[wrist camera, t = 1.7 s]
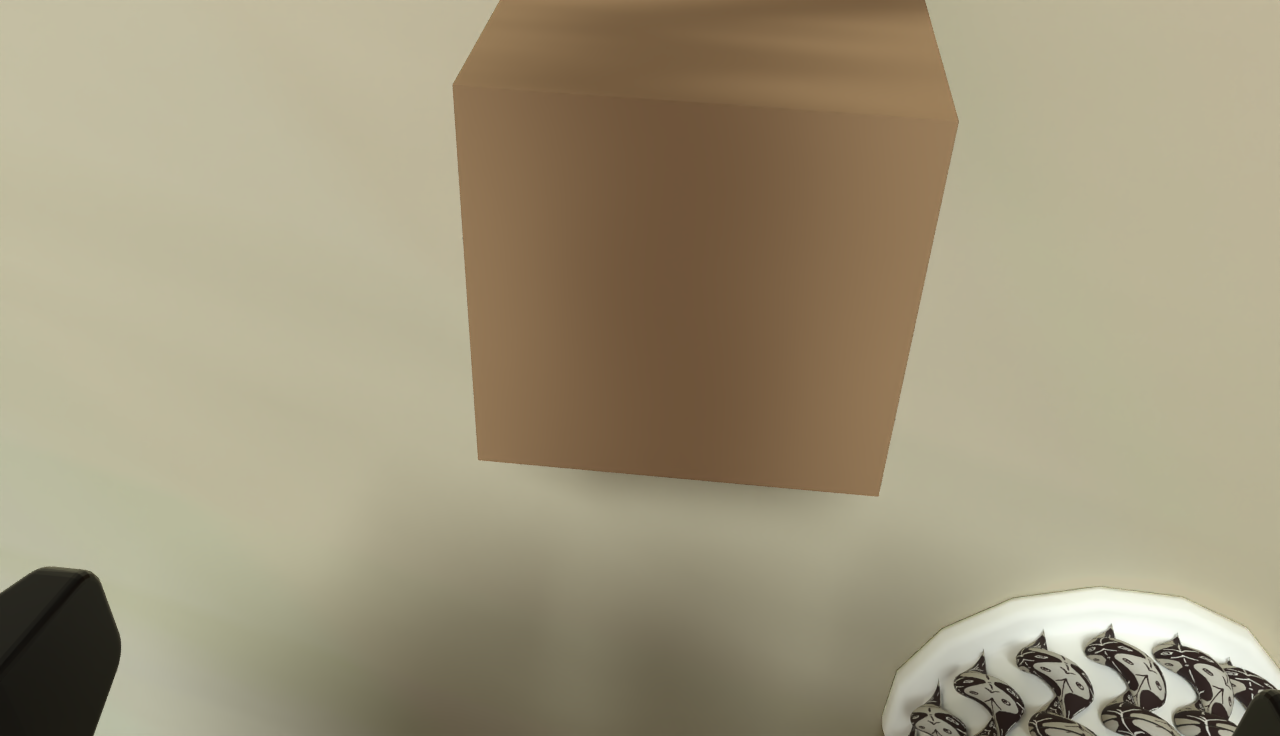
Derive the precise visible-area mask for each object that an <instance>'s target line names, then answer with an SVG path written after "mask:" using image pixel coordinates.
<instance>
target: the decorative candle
mask: <svg viewBox="0 0 1280 736" xmlns="http://www.w3.org/2000/svg"><path fill="white" fill-rule="evenodd" d="M1265 689H1276V690H1280V669H1279V667H1278V666H1277V665H1276V664H1275V662H1274V661H1273V660H1272V659H1271V657H1270V656H1269V655H1268V653H1267V652H1266V651H1265V650H1264V648H1263V647H1262V646H1261V645H1260V643H1259V642H1258V641H1257V640H1256V638H1255V637H1254V636H1253V634H1252V633H1251V632H1250V631H1249V629H1248V628H1247V627H1245V626H1243V625H1241V624H1239V623H1237V622H1234V621H1232V620H1230V619H1228V618H1226V617H1224V616H1222V615H1220V614H1217V613H1215V612H1213V611H1211V610H1209V609H1207V608H1205V607H1203V606H1200V605H1198V604H1196V603H1194V602H1192V601H1190V600H1188V599H1186V598H1183V597H1180V596H1172V595H1164V594H1156V593H1148V592H1140V591H1132V590H1124V589H1116V588H1108V587H1100V586H1098V587H1090V588H1083V589H1076V590H1068V591H1061V592H1054V593H1046V594H1039V595H1032V596H1024V597H1017V598H1012V599H1010V600H1007V601H1005V602H1003V603H1000V604H998V605H996V606H993V607H991V608H989V609H986V610H984V611H982V612H979V613H977V614H975V615H972V616H970V617H968V618H965V619H963V620H961V621H958V622H956V623H954V624H951V625H949V626H947V627H944V628H942V629H941V630H940V631H939V632H938V633H937V634H936V635H935V636H934V637H933V638H932V639H930V640H929V641H928V642H927V643H926V644H925V645H924V646H923V647H922V648H921V649H920V650H919V651H918V652H916V653H915V654H914V655H913V656H912V657H911V658H910V659H909V660H908V661H907V662H906V663H905V664H904V665H903V666H901V667H900V668H899V669H898V670H897V672H896V675H895V678H894V681H893V684H892V687H891V690H890V693H889V696H888V699H887V702H886V705H885V708H884V711H883V714H882V728H883V732H884V735H885V736H1232V734H1233V733H1234V731H1235V729H1236V727H1237V726H1238V724H1239V722H1240V720H1241V718H1242V717H1243V715H1244V713H1245V711H1246V710H1247V708H1248V706H1249V704H1250V702H1251V701H1252V699H1253V698H1254V696H1255V695H1256V694H1258V693H1259V692H1261V691H1263V690H1265Z"/></svg>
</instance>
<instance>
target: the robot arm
mask: <svg viewBox="0 0 1280 736" xmlns="http://www.w3.org/2000/svg"><path fill="white" fill-rule="evenodd" d="M120 656H121V639H120V634H119V631H118V629H117V626H116V623H115V620H114V618H113V615H112V612H111V609H110V606H109V604H108V601H107V598H106V595H105V593H104V590H103V587H102V584H101V582H100V580H99V578H98V577H97V576H96V575H95V574H93V573H92V572H91V571H87V570H81V569H71V568H61V567H43V568H40V569H37V570H35V571H33V572H31V573H29V574H28V575H26V576H25V577H23V578H22V579H20V580H19V581H17V582H16V583H14V584H13V585H12V586H10V587H9V588H7V589H6V590H4V591H3V592H1V593H0V736H94V733H95V730H96V727H97V724H98V722H99V719H100V716H101V713H102V710H103V708H104V705H105V702H106V699H107V696H108V694H109V691H110V688H111V685H112V682H113V680H114V677H115V674H116V671H117V668H118V665H119V661H120ZM1232 736H1280V690H1276V689H1265V690H1263V691H1261V692H1259V693H1258V694H1256V695H1255V696H1254V698H1253V699H1252V701H1251V702H1250V704H1249V706H1248V708H1247V710H1246V711H1245V713H1244V715H1243V717H1242V718H1241V720H1240V722H1239V724H1238V726H1237V727H1236V729H1235V731H1234V733H1233V734H1232Z"/></svg>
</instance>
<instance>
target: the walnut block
mask: <svg viewBox="0 0 1280 736" xmlns="http://www.w3.org/2000/svg"><path fill="white" fill-rule="evenodd" d="M453 98H454V113H455V128H456V142H457V157H458V172H459V186H460V201H461V216H462V230H463V245H464V259H465V274H466V289H467V303H468V318H469V333H470V347H471V362H472V377H473V391H474V406H475V421H476V435H477V450H478V460H483V461H494V462H505V463H516V464H527V465H538V466H549V467H560V468H571V469H582V470H593V471H604V472H614V473H625V474H636V475H647V476H658V477H669V478H680V479H691V480H702V481H713V482H724V483H735V484H746V485H757V486H768V487H779V488H790V489H801V490H812V491H823V492H834V493H845V494H856V495H867V496H879V491H880V486H881V482H882V477H883V472H884V468H885V463H886V458H887V454H888V449H889V444H890V440H891V435H892V430H893V426H894V421H895V416H896V412H897V407H898V402H899V398H900V393H901V388H902V384H903V379H904V374H905V370H906V365H907V360H908V356H909V351H910V346H911V342H912V337H913V332H914V328H915V323H916V318H917V314H918V309H919V304H920V300H921V295H922V290H923V286H924V281H925V277H926V272H927V267H928V263H929V258H930V253H931V249H932V244H933V239H934V235H935V230H936V225H937V221H938V216H939V211H940V207H941V202H942V197H943V193H944V188H945V183H946V179H947V174H948V169H949V165H950V160H951V155H952V151H953V146H954V141H955V137H956V132H957V127H958V123H959V120H958V117H957V113H956V110H955V106H954V102H953V99H952V95H951V92H950V88H949V85H948V81H947V78H946V74H945V70H944V67H943V63H942V60H941V56H940V53H939V49H938V45H937V42H936V38H935V35H934V31H933V28H932V24H931V21H930V17H929V13H928V10H927V6H926V3H925V0H500V1H499V3H498V5H497V7H496V8H495V10H494V12H493V14H492V15H491V17H490V19H489V21H488V23H487V24H486V26H485V28H484V30H483V31H482V33H481V35H480V37H479V39H478V40H477V42H476V44H475V46H474V48H473V49H472V51H471V53H470V55H469V56H468V58H467V60H466V62H465V64H464V65H463V67H462V69H461V71H460V72H459V74H458V76H457V78H456V80H455V81H454V83H453Z"/></svg>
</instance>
